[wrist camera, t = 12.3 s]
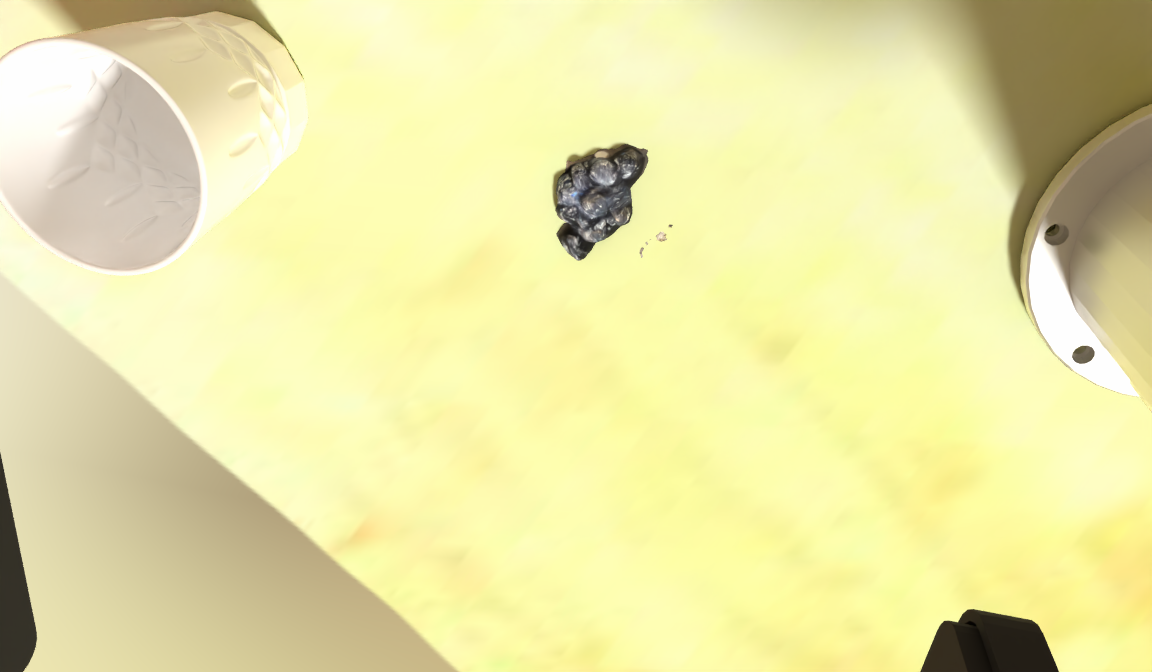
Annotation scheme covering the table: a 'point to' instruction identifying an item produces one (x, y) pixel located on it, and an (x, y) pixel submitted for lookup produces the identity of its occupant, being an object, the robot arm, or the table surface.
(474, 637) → the table surface
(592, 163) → the blueberries
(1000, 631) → the robot arm
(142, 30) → the white cup
